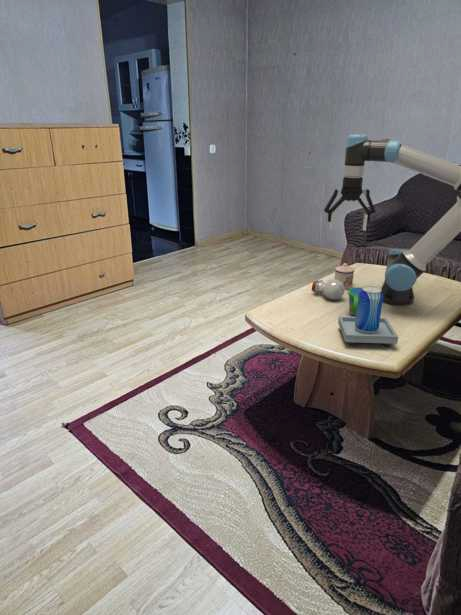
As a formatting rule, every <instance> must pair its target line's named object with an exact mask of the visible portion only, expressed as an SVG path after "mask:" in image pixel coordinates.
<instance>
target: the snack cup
mask: <svg viewBox="0 0 461 615" xmlns="http://www.w3.org/2000/svg"><path fill="white" fill-rule="evenodd" d="M362 288H363V287H352V288H351V289H348V291H347V295H348V308H349V314H350V315H352V317H356V312H357V304H358V296H359V292H360V291H361V290H362Z"/></svg>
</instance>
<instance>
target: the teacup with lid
mask: <svg viewBox="0 0 461 615" xmlns="http://www.w3.org/2000/svg"><path fill="white" fill-rule="evenodd" d="M334 271H335V272H334V279H337V280H339V281H341V282H342V283H343V285H344V287H345V290H344V291H346V290H349V289H351V288H353V280H354V274H355V268H354V267H353V266H352V267H351V266H350V265H348V263H346V262H345V263H342V265H338V266H336V267H335V269H334Z"/></svg>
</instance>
